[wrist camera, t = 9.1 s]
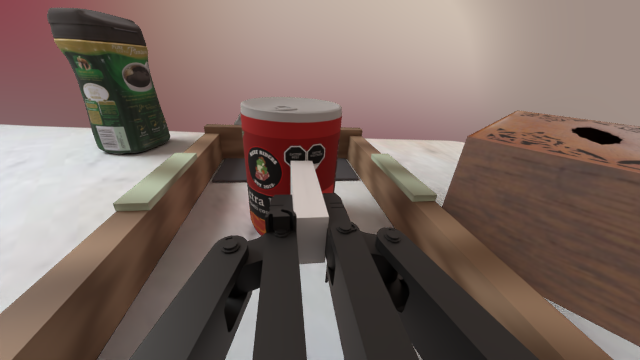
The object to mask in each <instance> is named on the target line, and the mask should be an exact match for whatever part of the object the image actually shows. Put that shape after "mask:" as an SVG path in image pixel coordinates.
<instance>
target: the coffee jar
mask: <svg viewBox="0 0 640 360" xmlns="http://www.w3.org/2000/svg"><path fill="white" fill-rule="evenodd" d="M47 18H48V22H49V23H50V25H51V30H52V34H53V37H54V38H55V39H54V41H55V43H56V44H57V46H58V47H59V49H60V50H61V51H62V52H63V54H64V55H65V56H66V58H67V59H68V61H69V63H70V64H71V66H72V69H73V71H74V73H75V76H76V78H77V80H78V84H79V87H80V90H81V93H82V96H83V99H84V102H85V106H86V110H87V113H88V117H89V121H90V124H91V128H92V132H93V135H94V138H95V141H96V143H97V146H98V148H99V149H101V150H103V151H106V152H108V153H113V154H123V153H138V152H142V151H146V150H149V149H151V148H154V147H156V146H159V145H161V144H163V143H165V142H167V141H168V140H169V139H170V134H169V130H168V127H167V124H166V121H165V118H164V115H163V113H162V110H161V107H160V104H159V101H158V98H157V94H156V91H155V88H154V85H153V82H152V78H151V75H150V70H149V65H148V50H147V47H146V43H145V40H144V37H143V34H142V31H141V29H140V28H139V26H138V25H136V24H135V23H134V22H133V21H131V20H128V19H124V18H121V17H116V16H113V15H109V14H105V13H101V12H96V11H92V10H86V9H78V8H50V9H49V10H48V14H47Z"/></svg>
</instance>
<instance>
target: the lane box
mask: <svg viewBox="0 0 640 360" xmlns="http://www.w3.org/2000/svg"><path fill="white" fill-rule="evenodd" d="M204 129H205V134H204V135H203V136H202V137H201V138H199V139H198V140H197V141H196V142H195V143H194V144H193V145H191V146H190V147H189V148H188V149H187V150H186V151H185V152H184V153H175V154H173V155H172V156H171V157H170V158H168V159H167V160H166V161H165V162H164V163H162V164H161V165H160V166H159V167H157V168H156V169H155V170H154V171H153V172H151V173H150V174H149V175H148V176H146V177H145V178H144V179H143V180H141V181H140V182H139V183H138V184H137V185H135V186H134V187H133V188H132V189H130V190H129V191H128V192H127V193H126V194H124V195H123V196H122V197H121V198H119V199H118V200H117V201H116V202H115V203H113V205H114V208H115V210H116V211H117V212H115V213H114V214H113V215H112V216H111V217H110V218H109V219H107V220H106V221H105V222H104V223H103V224H102V225H101V226H99V227H98V228H97V229H96V230H95V231H94V232H93V233H92V234H90V235H89V236H88V237H87V238H86V239H85V240H84V241H82V242H81V243H80V244H79V245H78V246H77V247H76V248H75V249H73V250H72V251H71V252H70V253H69V254H68V255H67V256H65V257H64V258H63V259H62V260H61V261H60V262H59V263H57V264H56V265H55V266H54V267H53V268H52V269H51V270H50V271H48V272H47V273H46V274H45V275H44V276H43V277H42V278H40V279H39V280H38V281H37V282H36V283H35V284H34V285H33V286H31V287H30V288H29V289H28V290H27V291H26V292H25V293H23V294H22V295H21V296H20V297H19V298H18V299H17V300H15V301H14V302H13V303H12V304H11V305H10V306H9V307H8V308H6V309H5V310H4V311H3V312H2V313H1V314H0V360H96V359H97V358H98V356H99V354H100V353H101V351H102V350H103V348H104V347H105V345H106V343H107V342H108V340H109V339H110V337H111V336H112V334H113V332H114V331H115V329H116V328H117V326H118V324H119V323H120V321H121V320H122V318H123V317H124V315H125V313H126V312H127V310H128V309H129V307H130V305H131V304H132V302H133V301H134V299H135V298H136V296H137V294H138V293H139V291H140V290H141V288H142V286H143V285H144V283H145V282H146V280H147V279H148V277H149V275H150V274H151V272H152V271H153V269H154V267H155V266H156V264H157V263H158V261H159V260H160V258H161V256H162V255H163V253H164V252H165V250H166V249H167V247H168V245H169V244H170V242H171V241H172V239H173V237H174V236H175V234H176V233H177V231H178V230H179V228H180V226H181V225H182V223H183V222H184V220H185V218H186V217H187V215H188V214H189V212H190V211H191V209H192V207H193V206H194V204H195V203H196V201H197V199H198V198H199V196H200V195H201V193H202V192H203V190H204V188H205V187H206V185H207V184H208V182H209V180H210V179H211V177H212V176H213V174H214V173H215V171H216V169H217V168H218V166H219V165H220V163H221V161H222V160H223V159H225V158H245V156H244V146H243V137H242V125H216V124H207V125H206V126H204ZM338 158H345V159H347V160H348V161H349V163H350V164H351V166H352V167H353V168H354V170H355V171H356V173H357V174H358V176H359V177H360V178H361V180H362V181H363V183H364V184H365V186H366V187H367V189H368V190H369V191H370V193H371V194H372V196H373V197H374V199H375V200H376V201H377V203H378V204H379V206H380V207H381V209H382V210H383V212H384V213H385V214H386V216H387V217H388V219H389V220H390V222H391V223H392V224H393V226H394V227H395V229H397V230H399V231H401V232H402V233H404V234H405V235H406V236H407V237H408V238H409V239H410V240H411V241H412V242H413V243H414V244H416V245H417V246H418V247H419V248H420V249H421V250H422V251H423V252H424V253H425V254H426V255H427V256H428V257H430V258H431V259H432V260H433V261H434V262H435V263H436V264H437V265H438V266H439V267H440V268H441V269H442V270H443V271H445V272H446V273H447V274H448V275H449V276H450V277H451V278H452V279H453V280H454V281H455V282H456V283H457V284H459V285H460V286H461V287H462V288H463V289H464V290H465V291H466V292H467V293H468V294H469V295H470V296H471V297H473V298H474V299H475V300H476V301H477V302H478V303H479V304H480V305H481V306H482V307H483V308H484V309H485V310H487V311H488V312H489V313H490V314H491V315H492V316H493V317H494V318H495V319H496V320H497V321H498V322H499V323H501V324H502V325H503V326H504V327H505V328H506V329H507V330H508V331H509V332H510V333H511V334H512V335H513V336H515V337H516V338H517V339H518V340H519V341H520V342H521V343H522V344H523V345H524V346H525V347H526V348H527V349H528V350H530V351H531V352H532V353H533V354H534V355H535V356H536V357H537V358H538V359H539V360H613V359H612V358H611V357H610V356H609V355H608V354H606V353H605V352H604V351H603V350H602V349H601V348H600V347H599V346H597V345H596V344H595V343H594V342H593V341H592V340H591V339H590V338H588V337H587V336H586V335H585V334H584V333H583V332H582V331H580V330H579V329H578V328H577V327H576V326H575V325H574V324H573V323H571V322H570V321H569V320H568V319H567V318H566V317H565V316H564V315H562V314H561V313H560V312H559V311H558V310H557V309H556V308H555V307H553V306H552V305H551V304H550V303H549V302H548V301H547V300H546V299H544V298H543V297H542V296H541V295H540V294H539V293H538V292H537V291H535V290H534V289H533V288H532V287H531V286H530V285H529V284H528V283H526V282H525V281H524V280H523V279H522V278H521V277H520V276H519V275H517V274H516V273H515V272H514V271H513V270H512V269H511V268H509V267H508V266H507V265H506V264H505V263H504V262H503V261H502V260H500V259H499V258H498V257H497V256H496V255H495V254H494V253H493V252H491V251H490V250H489V249H488V248H487V247H486V246H485V245H484V244H482V243H481V242H480V241H479V240H478V239H477V238H476V237H475V236H473V235H472V234H471V233H470V232H469V231H468V230H467V229H466V228H464V227H463V226H462V225H461V224H460V223H459V222H458V221H457V220H455V219H454V218H453V217H452V216H451V215H450V214H449V213H448V212H446V211H445V210H444V209H443V208H442V207H441V206H440V205H438V204H437V203H436V202H435V200H436V197H437V194H435V193H434V192H433V191H432V190H431V189H429V188H428V187H427V186H426V185H425V184H423V183H422V182H421V181H420V180H419V179H417V178H416V177H415V176H414V175H413V174H411V173H410V172H409V171H408V170H407V169H405V168H404V167H403V166H402V165H401V164H399V163H398V162H397V161H396V160H395V159H393V158H392V157H391V156H390V155H389V154H381V153H380V152H379V151H378V150H377V149H375V148H374V147H373V146H372V145H371V144H370V143H369V142H367V141H366V140H365V139H364V138H363V137H362V129H360V128H342V127H341V131H340V141H339V150H338Z"/></svg>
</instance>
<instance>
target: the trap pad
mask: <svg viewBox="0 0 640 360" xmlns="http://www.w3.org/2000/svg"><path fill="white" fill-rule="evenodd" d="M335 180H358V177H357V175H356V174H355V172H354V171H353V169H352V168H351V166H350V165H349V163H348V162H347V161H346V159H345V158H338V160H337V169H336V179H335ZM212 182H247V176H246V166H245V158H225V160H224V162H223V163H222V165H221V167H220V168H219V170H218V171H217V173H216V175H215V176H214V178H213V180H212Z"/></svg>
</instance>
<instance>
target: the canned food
mask: <svg viewBox="0 0 640 360" xmlns="http://www.w3.org/2000/svg"><path fill="white" fill-rule="evenodd" d="M240 113H241V123H242V137H243V146H244V156H245V166H246V176H247V186H248V195H249V205H250V215H251V220H252V223H253V225H254V227H255V229H256V230H257V232H258V233H259V234H260V235H264V234H265V233H266V229H265V216H266V213H268V212H269V211H270V201H271V199H272V198H273V196H274V195H291V161H312V162H313V165H314V168H315V172H316V175H317V178H318V182H319V185H320V188H321V192H322V193H334V188H335V179H336V169H337V160H338V150H339V141H340V131H341V118H342V107H341V106H340V105H338V104H336V103H333V102H329V101H324V100H317V99H308V98H294V97H265V98H254V99H249V100H246V101H243V102H241V112H240Z"/></svg>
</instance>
